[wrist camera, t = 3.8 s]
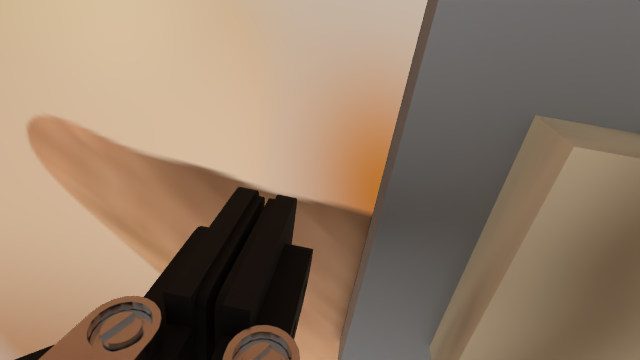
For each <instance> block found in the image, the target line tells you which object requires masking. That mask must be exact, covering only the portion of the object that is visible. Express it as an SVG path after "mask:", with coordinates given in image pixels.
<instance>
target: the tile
mask: <svg viewBox="0 0 640 360" xmlns="http://www.w3.org/2000/svg"><path fill="white" fill-rule="evenodd" d="M429 347H430V355H431V360H640V134H639V133H633V132H628V131H622V130H616V129H611V128H605V127H600V126H594V125H588V124H583V123H577V122H571V121H566V120H560V119H555V118H549V117H543V116H538V115H535V117H534V119H533V122H532V124H531V126H530V128H529V130H528V132H527V135H526V137H525V139H524V141H523V143H522V146H521V148H520V150H519V152H518V154H517V156H516V159H515V161H514V163H513V165H512V167H511V170H510V172H509V174H508V176H507V178H506V181H505V183H504V185H503V187H502V189H501V191H500V194H499V196H498V198H497V200H496V202H495V205H494V207H493V209H492V211H491V213H490V215H489V218H488V220H487V222H486V224H485V226H484V229H483V231H482V233H481V235H480V237H479V239H478V242H477V244H476V246H475V248H474V250H473V253H472V255H471V257H470V259H469V261H468V263H467V266H466V268H465V270H464V272H463V274H462V277H461V279H460V281H459V283H458V285H457V288H456V290H455V292H454V294H453V296H452V298H451V301H450V303H449V305H448V307H447V309H446V312H445V314H444V316H443V318H442V320H441V322H440V325H439V327H438V329H437V331H436V333H435V336H434V338H433V340H432V342H431V344H430V346H429Z"/></svg>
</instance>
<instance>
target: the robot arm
mask: <svg viewBox="0 0 640 360" xmlns="http://www.w3.org/2000/svg"><path fill="white" fill-rule="evenodd" d="M264 204H265V198H264V197H261V196H259V192H258V191H257V190H252V189H247V188H242V187H238V188H237V189H236V191H235V192H234V193H233V195H232V196H231V198H230V199H229V200H228V202H227V203H226V205H225V206H224V207H223V209H222V210H221V212H220V213H219V214H218V216H217V217H216V218H215V220H214V221H213V223H212V224H211V225H210V227H204V226H200V227H198V228H197V229H196V230H195V231H194V232H193V233H192V235H191V236H190V237H189V239H188V240H187V241H186V243H185V244H184V245H183V247H182V248H181V249H180V250H179V252H178V253H177V254H176V256H175V257H174V258H173V260H172V261H171V262H170V263H169V265H168V266H167V267H166V269H165V270H164V271H163V273H162V274H161V275H160V277H159V278H158V279H157V280H156V282H155V283H154V284H153V286H152V287H151V288H150V290H149V291H148V292H147V293H146V295H145V296H144V297H139V296H126V297H122V298H117V299H113V300H111V301H109V302H107V303H105V304H102V305H101V306H100V307H98V308H96V309H95V310H94V311H92V312H91V313H90V314H89V315H88V316H86V317H85V318H84V319H83V320H82V321H81V322H80V323H79V324H78V325H76V326H75V327H74V328H73V329H72V330H71V331H70V332H69V333H67V334H66V335H65V336H64V337H63V338H62V339H61V340H60V341H58V342H57V343H56V344H55V345H52V346H50V347H47V348H44V349H42V350H39V351H36V352H34V353H31V354H28V355H26V356H23V357H20V358H18V359H15V360H300V356H299V349H298V347H297V345H296V343H295V341H294V337H295V333H296V329H297V325H298V321H299V317H300V313H301V309H302V305H303V300H304V296H305V292H306V287H307V282H308V277H309V272H310V266H311V260H312V254H313V249H310V248H305V247H300V246H295V245H292V237H293V229H294V221H295V213H296V205H297V198H292V197H287V196H282V195H277V196H276V198H275V199H271V198H269V199H268V201H267V203H266V205H265V207H264Z"/></svg>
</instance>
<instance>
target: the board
mask: <svg viewBox="0 0 640 360" xmlns="http://www.w3.org/2000/svg"><path fill="white" fill-rule="evenodd" d="M535 115H538V116H543V117H549V118H555V119H560V120H566V121H571V122H577V123H583V124H588V125H594V126H600V127H605V128H611V129H616V130H622V131H628V132H633V133H639V134H640V0H428V3H427V6H426V10H425V14H424V17H423V22H422V25H421V29H420V33H419V37H418V41H417V45H416V49H415V53H414V56H413V60H412V64H411V68H410V72H409V76H408V80H407V84H406V88H405V91H404V95H403V99H402V103H401V107H400V111H399V115H398V119H397V122H396V126H395V130H394V134H393V138H392V142H391V146H390V149H389V154H388V157H387V161H386V165H385V169H384V173H383V177H382V180H381V184H380V188H379V192H378V196H377V200H376V204H375V208H374V211H373V215H372V219H371V223H370V227H369V231H368V235H367V239H366V242H365V246H364V250H363V254H362V258H361V262H360V266H359V270H358V274H357V277H356V281H355V285H354V289H353V293H352V297H351V301H350V305H349V308H348V312H347V316H346V320H345V324H344V328H343V332H342V336H341V339H340V345H339V353H338V360H431V355H430V347H429V346H430V344H431V342H432V340H433V338H434V336H435V333H436V331H437V329H438V327H439V325H440V322H441V320H442V318H443V316H444V314H445V312H446V309H447V307H448V305H449V303H450V301H451V298H452V296H453V294H454V292H455V290H456V288H457V285H458V283H459V281H460V279H461V277H462V274H463V272H464V270H465V268H466V266H467V263H468V261H469V259H470V257H471V255H472V253H473V250H474V248H475V246H476V244H477V242H478V239H479V237H480V235H481V233H482V231H483V229H484V226H485V224H486V222H487V220H488V218H489V215H490V213H491V211H492V209H493V207H494V205H495V202H496V200H497V198H498V196H499V194H500V191H501V189H502V187H503V185H504V183H505V181H506V178H507V176H508V174H509V172H510V170H511V167H512V165H513V163H514V161H515V159H516V156H517V154H518V152H519V150H520V148H521V146H522V143H523V141H524V139H525V137H526V135H527V132H528V130H529V128H530V126H531V124H532V122H533V119H534V117H535Z"/></svg>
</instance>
